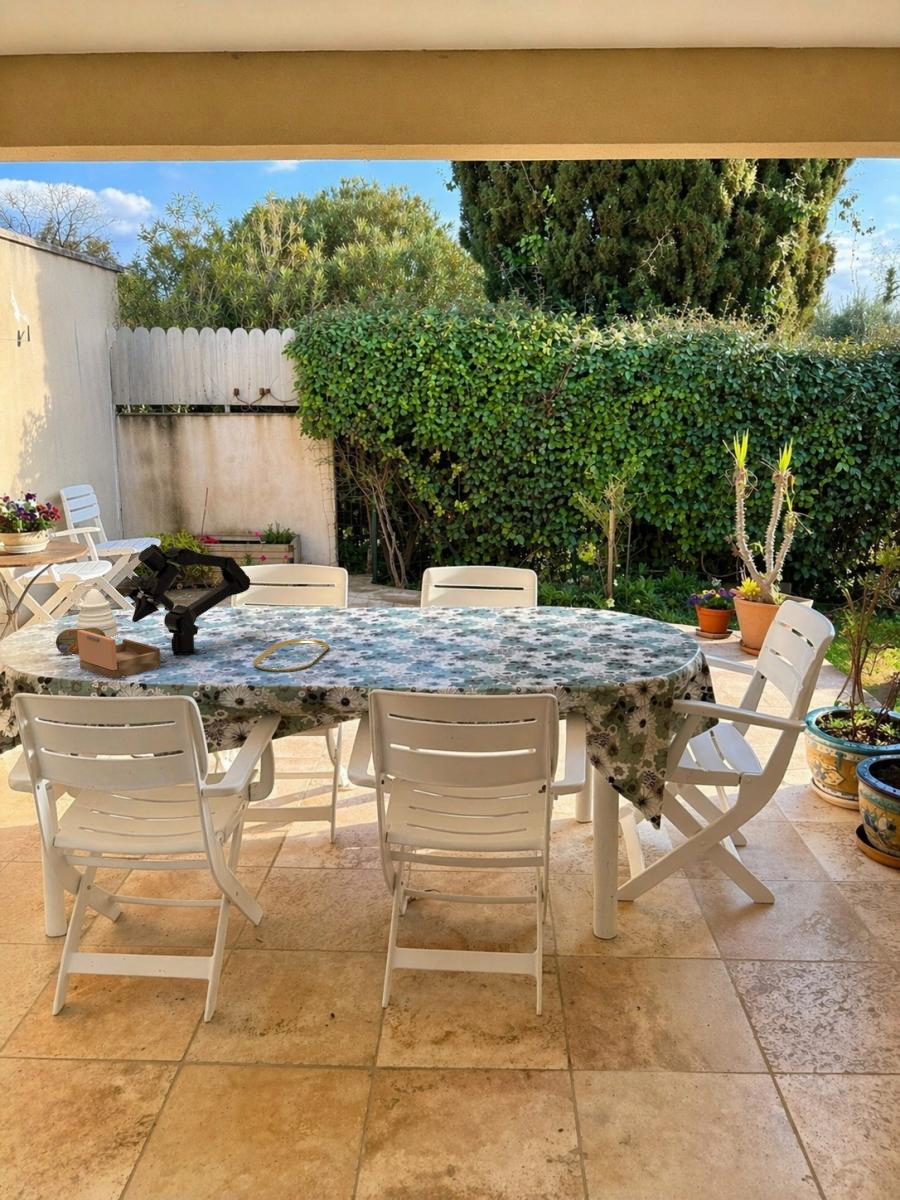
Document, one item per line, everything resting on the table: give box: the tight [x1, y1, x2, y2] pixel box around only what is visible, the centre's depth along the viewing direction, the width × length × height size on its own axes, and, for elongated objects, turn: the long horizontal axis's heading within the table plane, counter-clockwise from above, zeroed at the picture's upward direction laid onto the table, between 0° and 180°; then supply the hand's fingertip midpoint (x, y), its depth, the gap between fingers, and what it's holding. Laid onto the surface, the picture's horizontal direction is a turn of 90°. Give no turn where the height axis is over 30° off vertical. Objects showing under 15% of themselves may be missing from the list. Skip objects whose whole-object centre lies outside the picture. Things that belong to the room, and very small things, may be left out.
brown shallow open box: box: [79, 638, 162, 680], centre depth 278 cm, size 16×18×6 cm
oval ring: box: [252, 638, 330, 673], centre depth 291 cm, size 19×35×2 cm, turn 172°
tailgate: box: [77, 630, 117, 670], centre depth 271 cm, size 2×18×9 cm, turn 51°
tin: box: [55, 627, 106, 656], centre depth 293 cm, size 15×3×8 cm, turn 105°
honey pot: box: [76, 584, 118, 638], centre depth 314 cm, size 13×13×18 cm
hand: (133, 621), depth 280 cm, fingers closed
